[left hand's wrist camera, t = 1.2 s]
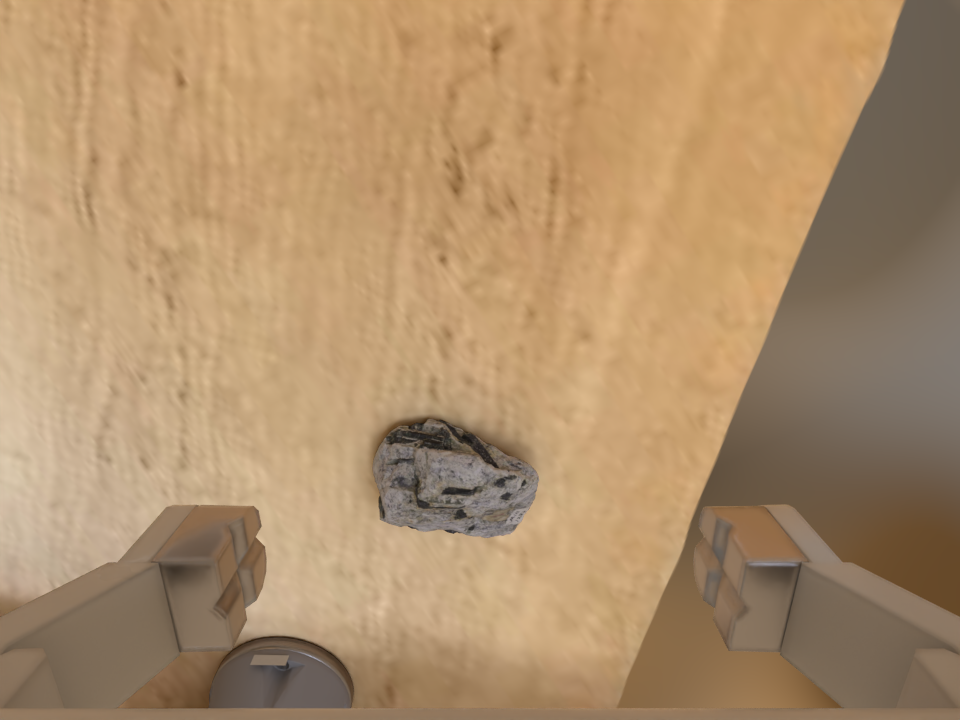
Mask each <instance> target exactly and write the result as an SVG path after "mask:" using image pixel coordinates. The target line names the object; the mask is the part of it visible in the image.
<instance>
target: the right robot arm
mask: <svg viewBox="0 0 960 720" xmlns="http://www.w3.org/2000/svg"><path fill="white" fill-rule="evenodd" d="M353 695H354V691H353V684H352V681H351V678H350V676H349V674H348V672H347V670H346V669H345V668H344V666H343V665H342V664H341V663H340V662H339V661H338V660H337V659H336V658H335V657H334V656H333V655H331V654H330V653H328V652H327V651H325V650H324V649H322V648H320V647H318V646H315V645H313V644H311V643H308V642H305V641H301V640H297V639H291V638H278V637H275V638H263V639H258V640H254V641H251V642H248V643H245V644H243V645H241V646H239V647H238V648H236V649H234V650H233V651H232V652H231V653H229V654H228V655H227V656H226V657H225V659H224V660H223V661H222V663H221V665H220V667H219V669H218V671H217V673H216V675H215V677H214V679H213V682H212V686H211V689H210V695H209V708H351V706H352V701H353Z"/></svg>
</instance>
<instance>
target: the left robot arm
mask: <svg viewBox="0 0 960 720" xmlns="http://www.w3.org/2000/svg"><path fill="white" fill-rule="evenodd" d="M260 528H261V521H260V516H259V511H258V510H257V509H256V508H255V507H254V506H222V505H200V506H199V505H172V506H169V507H166V508H165V509H164V511H163V512H162V513H161V514H160V515H159V516H158V517H157V519H156V520H155V521H154V522H153V523H152V524H151V525H150V526H149V528H148V529H147V530H146V531H145V532H144V533H143V534H142V535H141V537H140V538H139V539H138V540H137V541H136V542H135V543H134V544H133V546H132V547H131V548H130V549H129V550H128V551H127V552H126V553H125V555H124V556H123V557H122V558H121V559H120V560H119V561H118V562H117V563H107V564H105V565H103V566H101V567H99V568H97V569H95V570H93V571H91V572H89V573H87V574H85V575H83V576H81V577H79V578H77V579H75V580H73V581H71V582H69V583H67V584H65V585H63V586H61V587H59V588H57V589H55V590H53V591H51V592H49V593H47V594H45V595H43V596H41V597H39V598H37V599H35V600H33V601H31V602H29V603H27V604H25V605H23V606H21V607H19V608H17V609H15V610H13V611H11V612H9V613H7V614H5V615H3V616H1V617H0V720H960V617H959V616H957V615H955V614H953V613H951V612H949V611H947V610H945V609H943V608H941V607H939V606H937V605H935V604H933V603H931V602H929V601H927V600H925V599H923V598H921V597H919V596H917V595H915V594H913V593H911V592H909V591H907V590H905V589H903V588H901V587H899V586H897V585H895V584H893V583H891V582H889V581H887V580H885V579H883V578H881V577H879V576H877V575H875V574H873V573H871V572H869V571H867V570H865V569H863V568H861V567H859V566H857V565H855V564H853V563H843V562H842V561H841V560H840V559H839V558H838V557H837V556H836V555H835V554H834V552H833V551H832V550H831V549H830V548H829V547H828V546H827V544H826V543H825V542H824V541H823V540H822V539H821V538H820V537H819V535H818V534H817V533H816V532H815V531H814V530H813V529H812V528H811V526H810V525H809V524H808V523H807V522H806V521H805V520H804V519H803V517H802V516H801V515H800V514H799V513H798V512H797V511H796V509H795V508H793V507H791V506H789V505H760V506H731V507H704V508H703V510H702V512H701V515H700V520H699V528H700V530H701V531H702V533H703V535H704V538H703V539H702V540H701V541H700V542H699V543H698V544H697V545H696V546H695V553H694V561H693V563H694V574H695V580H696V583H697V587H698V590H699V592H700V594H701V596H702V598H703V600H704V601H705V602H707V603H708V604H710V605H711V606H712V607H714V608H715V611H714V617H713V621H714V623H715V625H716V626H717V628H718V630H719V632H720V634H721V636H722V638H723V640H724V642H725V644H726V646H727V648H728V650H729V651H755V652H780V655H781V656H782V657H783V658H785V659H786V660H787V661H788V662H789V663H790V664H792V665H793V666H794V667H795V668H796V669H798V670H799V671H800V672H801V673H802V674H804V675H805V676H806V677H807V678H808V679H810V680H811V681H812V682H813V683H814V684H815V685H817V686H818V687H819V688H820V689H821V690H822V691H824V692H825V693H826V694H827V695H828V696H830V697H831V698H832V699H833V700H834V701H836V702H837V703H838V704H839V705H840V706H841V707H843V708H118V707H119V706H120V705H121V704H122V703H123V702H125V701H126V700H127V699H128V698H129V697H131V696H132V695H133V694H134V693H135V692H137V691H138V690H139V689H140V688H141V687H142V686H144V685H145V684H146V683H147V682H148V681H150V680H151V679H152V678H153V677H154V676H156V675H157V674H158V673H159V672H160V671H161V670H163V669H164V668H165V667H166V666H167V665H169V664H170V663H171V662H172V661H173V660H175V659H176V658H177V657H178V656H179V655H180V652H204V651H231V650H232V648H233V646H234V644H235V642H236V640H237V638H238V636H239V634H240V633H241V631H242V629H243V627H244V625H245V623H246V621H247V617H246V611H245V608H246V607H248V606H249V605H251V604H252V603H253V602H255V601H256V600H257V598H258V596H259V594H260V592H261V590H262V588H263V583H264V579H265V574H266V552H265V546H264V545H263V544H262V543H261V542H260V541H259V540H258V539H257V538H256V535H257V533H258V531H259V530H260Z"/></svg>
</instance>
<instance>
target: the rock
mask: <svg viewBox="0 0 960 720" xmlns="http://www.w3.org/2000/svg"><path fill="white" fill-rule="evenodd" d="M373 473H374V477H375V482H376V483H377V486H378V489H379V492H380V497H379V509H380V520H382V521H384V522H387V523H389V524H392V525H396V526H399V527H402V526H409V527H410V528H413V529H417V530H419V531H423V532H427V531H433V530H437V529H441V530H445V531H446V532H449V533H453V534H454V533H456V532H458V533H463V534H465V535H469V536H481V537H485V538H489V537H494V536H499V535H502V536H503V535H506V534H511V533H512V532H513V531H514V530H515V529H516V527H517V525H518V524H519V523H520V522H521V521H522V519H523V516H524V514H525V513H526V512H527V511H528V510H529V508H530V506H531V505H532V503H533V500H534V499H535V492H536V491H537V486H538V481H539V476H538V474H537V472H536V471H535V470H534V469H533V468H532V467H531V466H530V465H529V464H528V463H526V462H524V461H522V460H520V459H518V458H516V457H512V456H508V455H506V454H504V453H503V452H502V451H500V450H499V449H498V448H496V447H495V446H493V445H491V444H486V443H485V442H483V441H482V440H481V439H480V438H479V437H477V436H476V435H474V434H471V433H466V432H464V431H463V430H462V429H460V428H457V427H454V426H452V425H451V424H449V423H446V422H445V421H442V420H439V421H436V420H434V419H427V421H426V422H425V424H421V423H415V424H413V425H412V426H398V427H397V428H395V429H393V430H392V431H390V433H389V434H388V435H387V436H386V437H385V438H384V440H383V442H382V443H381V444H380V446H379V448H378V450H377V452H376V455H375V457H374V461H373Z"/></svg>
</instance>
